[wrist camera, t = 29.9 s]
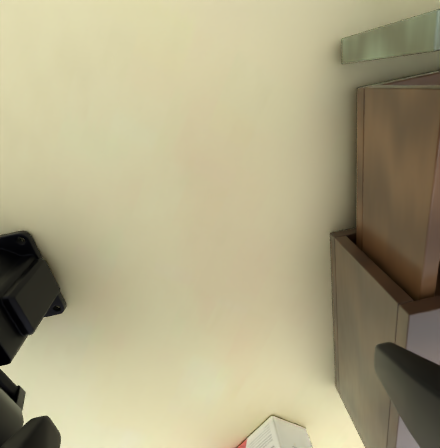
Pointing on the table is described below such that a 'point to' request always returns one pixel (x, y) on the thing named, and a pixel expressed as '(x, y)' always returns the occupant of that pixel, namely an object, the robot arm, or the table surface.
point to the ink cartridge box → (278, 435)
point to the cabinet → (374, 338)
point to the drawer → (399, 157)
